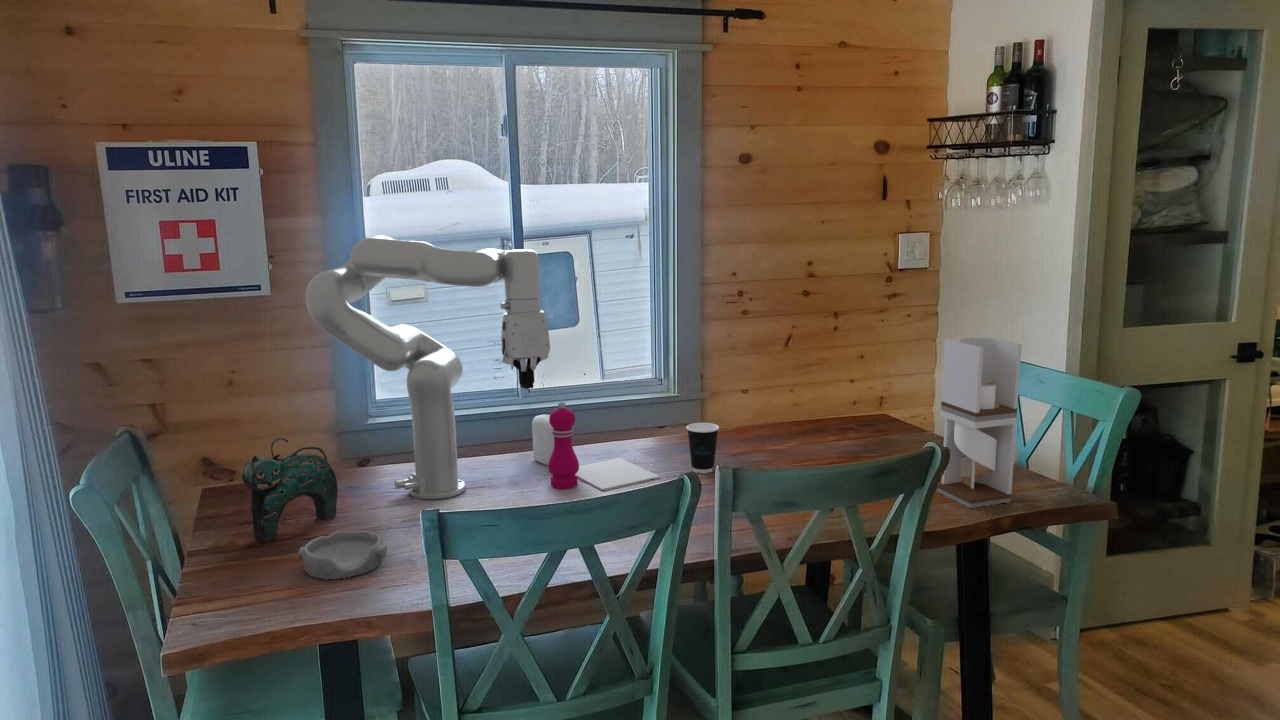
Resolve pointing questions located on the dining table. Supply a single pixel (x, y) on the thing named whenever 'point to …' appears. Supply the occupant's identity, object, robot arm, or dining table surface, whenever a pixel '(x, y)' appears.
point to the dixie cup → (702, 446)
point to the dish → (342, 554)
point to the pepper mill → (563, 449)
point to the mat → (613, 474)
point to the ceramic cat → (288, 487)
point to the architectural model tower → (979, 418)
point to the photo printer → (542, 439)
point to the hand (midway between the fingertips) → (527, 387)
